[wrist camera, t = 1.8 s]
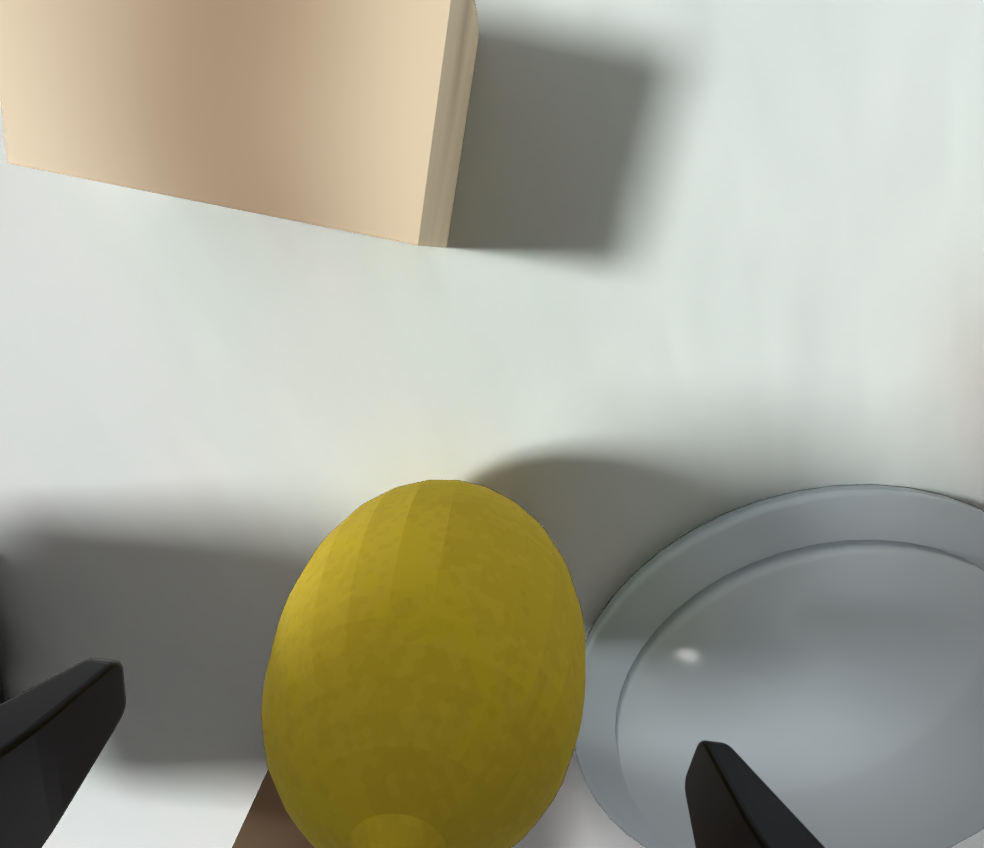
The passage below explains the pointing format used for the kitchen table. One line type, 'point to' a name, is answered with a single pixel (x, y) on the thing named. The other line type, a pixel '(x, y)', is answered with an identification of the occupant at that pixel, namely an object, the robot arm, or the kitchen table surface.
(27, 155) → the beech block
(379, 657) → the lemon
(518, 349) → the kitchen table surface
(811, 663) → the plate
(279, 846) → the walnut block
